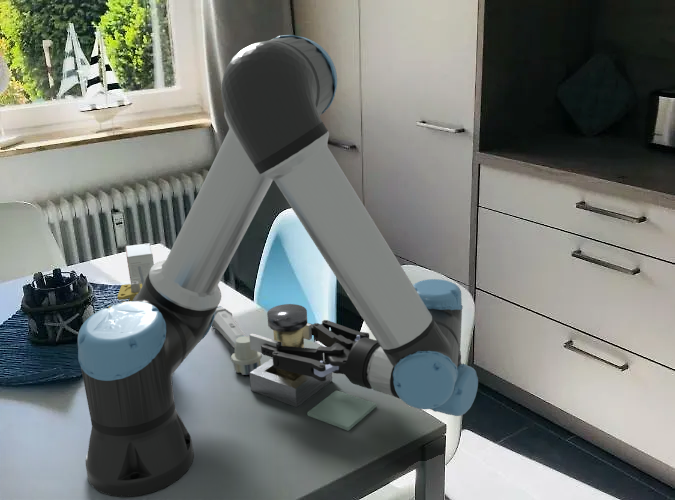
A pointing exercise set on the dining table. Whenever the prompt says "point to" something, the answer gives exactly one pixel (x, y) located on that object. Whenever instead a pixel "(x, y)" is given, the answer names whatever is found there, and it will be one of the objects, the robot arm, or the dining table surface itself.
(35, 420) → the dining table surface
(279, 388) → the box
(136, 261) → the small box
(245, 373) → the white handheld tool
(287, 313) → the tan and grey cylinder
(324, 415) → the mat
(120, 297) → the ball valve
